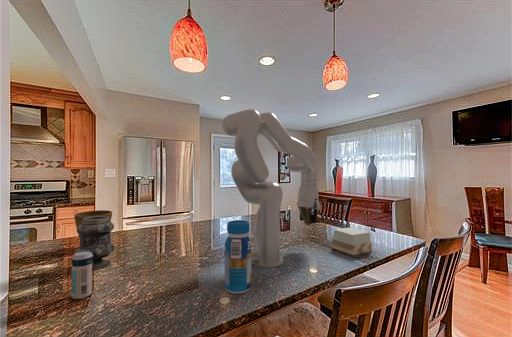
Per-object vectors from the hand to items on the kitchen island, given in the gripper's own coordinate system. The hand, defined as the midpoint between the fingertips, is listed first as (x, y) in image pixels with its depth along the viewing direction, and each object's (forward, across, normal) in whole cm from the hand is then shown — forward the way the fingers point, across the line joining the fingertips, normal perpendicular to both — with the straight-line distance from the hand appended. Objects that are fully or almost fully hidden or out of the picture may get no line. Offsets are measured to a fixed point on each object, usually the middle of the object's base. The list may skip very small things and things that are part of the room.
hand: (308, 221), depth 114 cm
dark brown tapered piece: (+2, 0, 0) cm, 2 cm away
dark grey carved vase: (+16, -20, -85) cm, 88 cm away
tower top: (+8, +11, +17) cm, 22 cm away
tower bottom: (+12, +10, +17) cm, 24 cm away
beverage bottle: (+15, +21, -45) cm, 51 cm away
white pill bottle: (+16, +5, -86) cm, 87 cm away
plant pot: (+15, -47, -88) cm, 101 cm away
